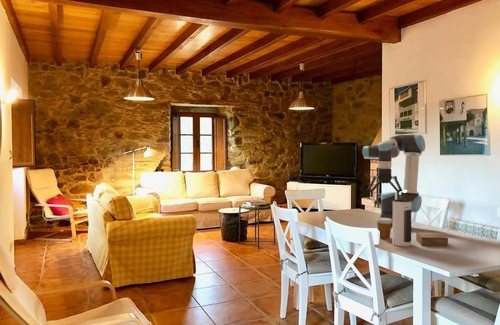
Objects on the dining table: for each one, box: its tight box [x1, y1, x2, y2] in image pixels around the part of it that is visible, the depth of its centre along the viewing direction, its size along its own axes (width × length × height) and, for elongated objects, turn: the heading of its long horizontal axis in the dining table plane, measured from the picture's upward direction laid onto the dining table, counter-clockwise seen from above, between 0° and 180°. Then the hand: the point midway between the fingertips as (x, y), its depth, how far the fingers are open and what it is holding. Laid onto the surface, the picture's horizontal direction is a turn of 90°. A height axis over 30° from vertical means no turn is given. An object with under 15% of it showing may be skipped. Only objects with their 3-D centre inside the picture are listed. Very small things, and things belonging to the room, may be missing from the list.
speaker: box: [392, 199, 412, 248], centre depth 236 cm, size 11×10×26 cm
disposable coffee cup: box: [376, 217, 393, 240], centre depth 253 cm, size 10×10×12 cm
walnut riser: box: [415, 231, 449, 248], centre depth 239 cm, size 14×14×5 cm
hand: (384, 202), depth 252 cm, fingers open, 13 cm apart
